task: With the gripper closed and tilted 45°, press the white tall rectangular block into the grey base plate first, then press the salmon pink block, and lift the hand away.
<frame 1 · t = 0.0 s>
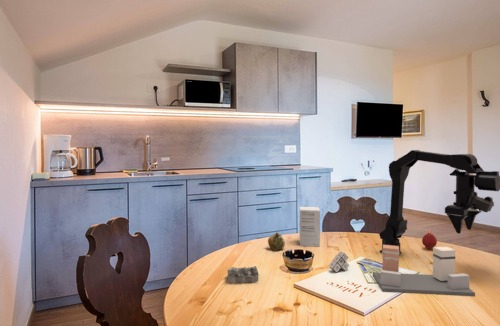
hand: (464, 231, 125), 15 cm above the table, tool pointing down, fingers open, 9 cm apart
salmon pink block: (390, 261, 117), point 6 cm above the table, slide at 0.0 cm
grey base plate: (417, 282, 116), on the table
egg carton: (242, 280, 119), on the table
building blocks: (338, 269, 128), on the table
onion: (429, 249, 153), on the table
supplement box: (309, 244, 162), on the table
white tall rectangular block: (443, 263, 115), point 6 cm above the table, slide at 0.0 cm
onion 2: (276, 249, 154), on the table
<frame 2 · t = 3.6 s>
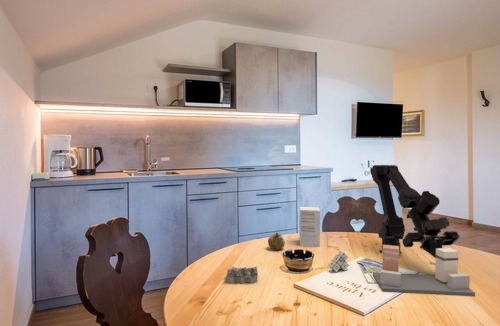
hand: (441, 261, 116), 7 cm above the table, tool tilted 45°, fingers closed, pressing on white tall rectangular block
white tall rectangular block: (446, 264, 114), point 6 cm above the table, slide at 1.3 cm, touching gripper
everything else where it was.
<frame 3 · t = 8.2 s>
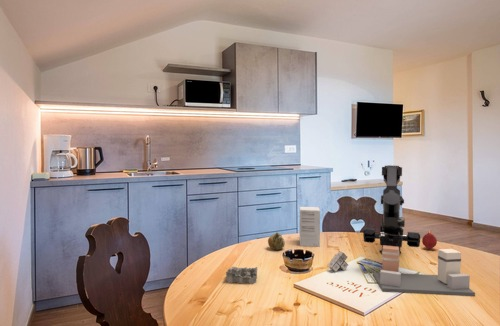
hand: (390, 258, 119), 7 cm above the table, tool tilted 45°, fingers closed, pressing on salmon pink block
salmon pink block: (390, 262, 117), point 6 cm above the table, slide at 0.8 cm, touching gripper
white tall rectangular block: (449, 266, 113), point 6 cm above the table, slide at 2.5 cm
everything else where it was.
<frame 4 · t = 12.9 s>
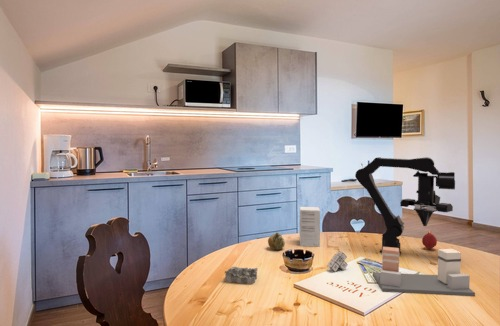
hand: (425, 226, 141), 13 cm above the table, tool pointing down, fingers closed
salmon pink block: (390, 263, 115), point 6 cm above the table, slide at 2.5 cm
at the end: white tall rectangular block slide at 2.5 cm; salmon pink block slide at 2.5 cm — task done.
